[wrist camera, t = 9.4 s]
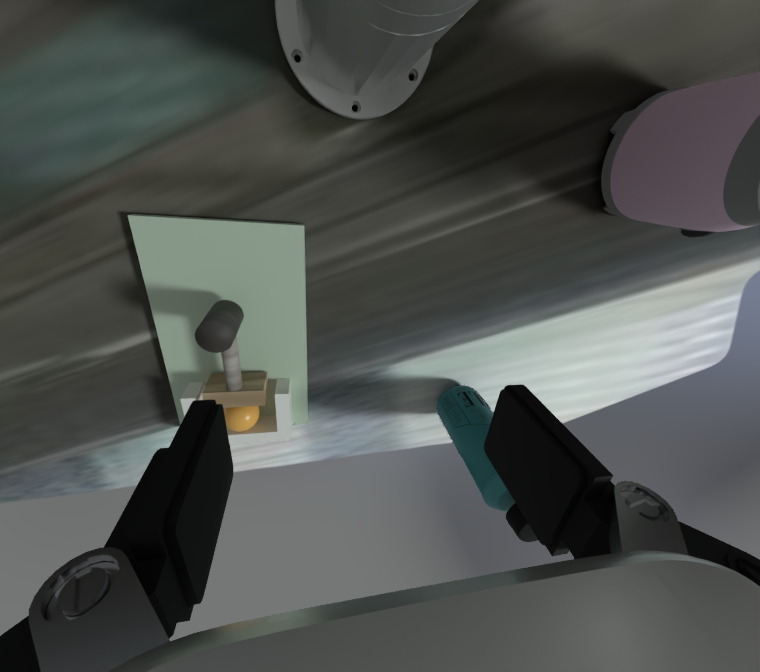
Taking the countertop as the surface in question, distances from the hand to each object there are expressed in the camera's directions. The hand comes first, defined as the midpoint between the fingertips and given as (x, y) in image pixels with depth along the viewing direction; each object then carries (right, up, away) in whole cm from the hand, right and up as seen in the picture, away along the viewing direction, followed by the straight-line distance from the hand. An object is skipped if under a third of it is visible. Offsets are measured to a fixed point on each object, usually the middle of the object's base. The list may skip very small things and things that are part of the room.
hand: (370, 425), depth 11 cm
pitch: (-16, +3, +25) cm, 30 cm away
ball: (-16, -6, +27) cm, 31 cm away
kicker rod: (-15, +2, +24) cm, 29 cm away
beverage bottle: (+11, -5, +36) cm, 38 cm away
